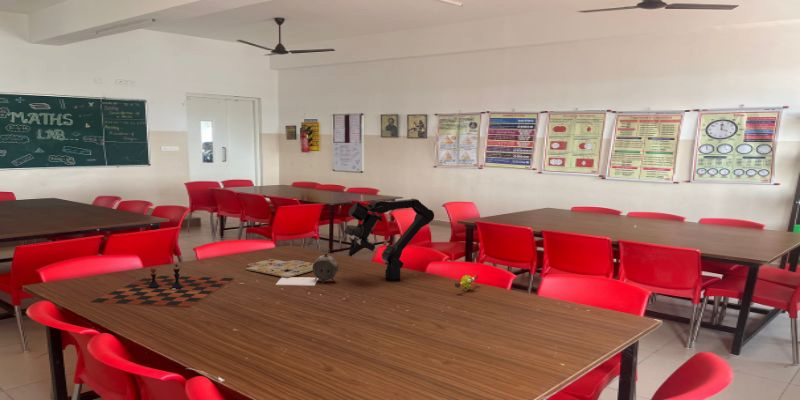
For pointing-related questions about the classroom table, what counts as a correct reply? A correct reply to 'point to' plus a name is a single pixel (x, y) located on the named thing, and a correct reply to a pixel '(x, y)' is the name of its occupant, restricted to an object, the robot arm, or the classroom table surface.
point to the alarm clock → (325, 267)
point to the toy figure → (466, 281)
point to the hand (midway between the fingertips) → (349, 255)
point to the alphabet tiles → (281, 267)
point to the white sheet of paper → (297, 281)
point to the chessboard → (165, 290)
